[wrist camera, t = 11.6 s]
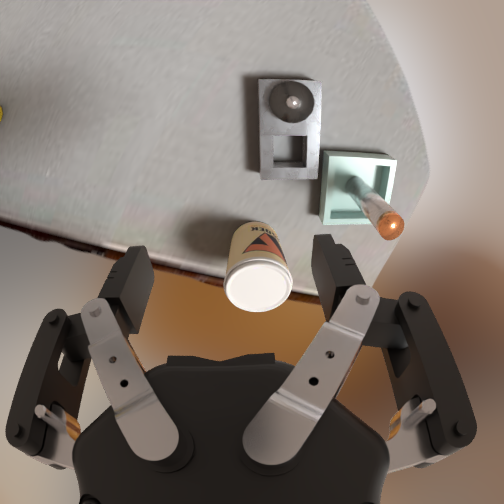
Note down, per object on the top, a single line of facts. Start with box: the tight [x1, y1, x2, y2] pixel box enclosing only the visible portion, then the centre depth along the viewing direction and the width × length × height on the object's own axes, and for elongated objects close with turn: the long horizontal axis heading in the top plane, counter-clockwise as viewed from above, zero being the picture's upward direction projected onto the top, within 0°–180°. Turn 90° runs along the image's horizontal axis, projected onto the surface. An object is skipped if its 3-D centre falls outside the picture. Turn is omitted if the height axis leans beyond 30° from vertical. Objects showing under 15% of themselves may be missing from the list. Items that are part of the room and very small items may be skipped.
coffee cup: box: [224, 222, 292, 312], centre depth 42 cm, size 9×9×12 cm
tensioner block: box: [258, 79, 321, 180], centre depth 34 cm, size 14×8×5 cm, turn 2°
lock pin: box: [345, 176, 404, 240], centre depth 36 cm, size 3×3×13 cm
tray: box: [319, 151, 397, 225], centre depth 41 cm, size 11×11×3 cm
